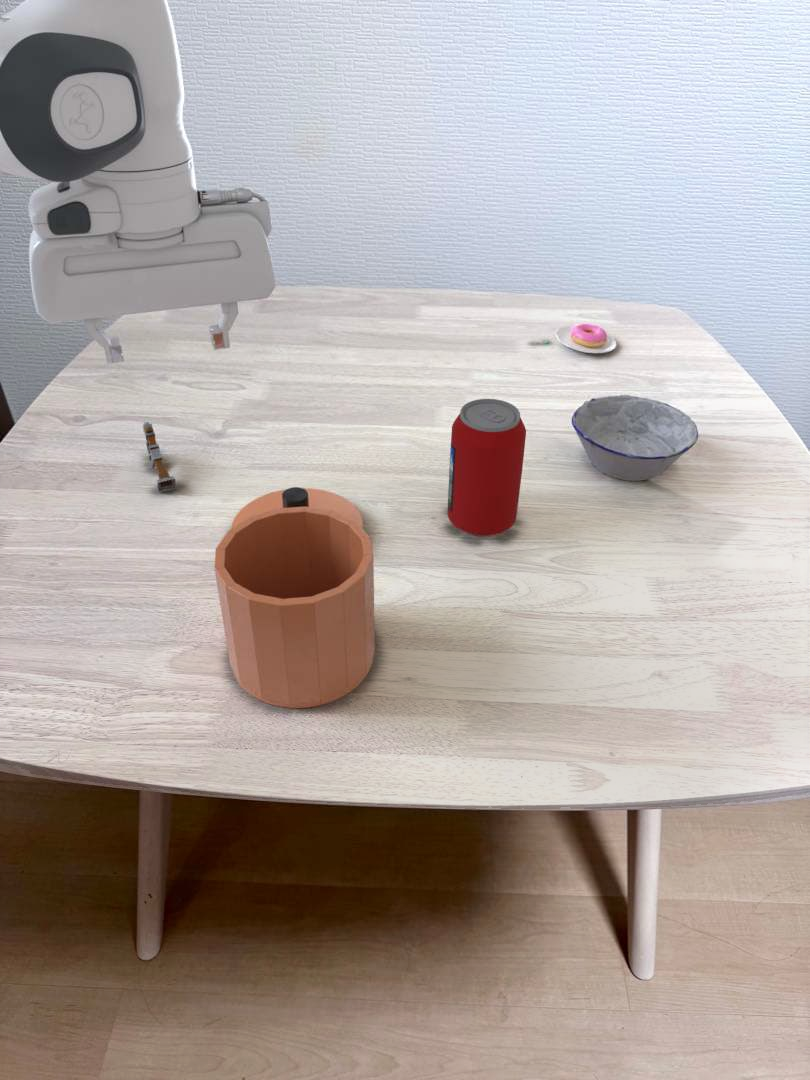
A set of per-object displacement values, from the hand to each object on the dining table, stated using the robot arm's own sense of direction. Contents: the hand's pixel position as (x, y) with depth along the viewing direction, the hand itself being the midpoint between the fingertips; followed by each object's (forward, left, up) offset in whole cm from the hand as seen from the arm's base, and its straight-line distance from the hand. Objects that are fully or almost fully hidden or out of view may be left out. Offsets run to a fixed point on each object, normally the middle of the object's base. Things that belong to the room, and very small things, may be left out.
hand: (169, 353), depth 77 cm
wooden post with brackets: (-4, +3, -15) cm, 16 cm away
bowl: (+46, 0, -15) cm, 49 cm away
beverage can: (+28, -9, -15) cm, 33 cm away
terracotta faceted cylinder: (+10, -25, -15) cm, 31 cm away
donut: (+49, +29, -15) cm, 59 cm away
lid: (+10, -9, -14) cm, 20 cm away
